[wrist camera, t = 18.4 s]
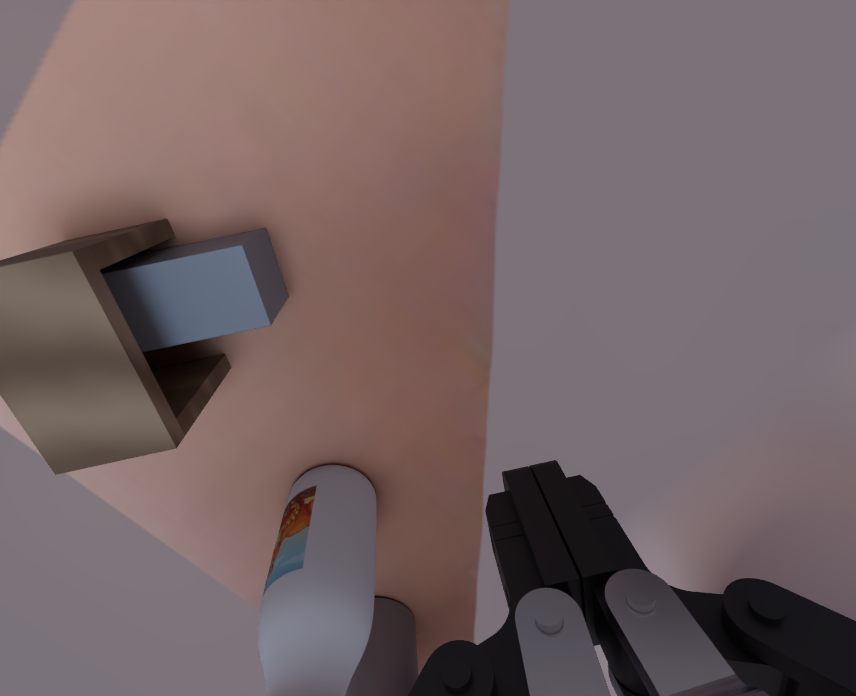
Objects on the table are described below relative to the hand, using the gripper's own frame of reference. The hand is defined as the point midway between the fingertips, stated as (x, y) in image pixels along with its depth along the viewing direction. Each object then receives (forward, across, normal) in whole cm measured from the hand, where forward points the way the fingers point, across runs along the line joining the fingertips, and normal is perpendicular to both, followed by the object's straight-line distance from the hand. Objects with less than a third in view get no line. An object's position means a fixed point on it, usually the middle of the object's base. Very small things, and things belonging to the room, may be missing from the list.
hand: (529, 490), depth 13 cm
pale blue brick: (+23, +17, -3) cm, 29 cm away
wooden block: (+23, +20, -2) cm, 31 cm away
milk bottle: (+23, +13, +18) cm, 32 cm away
